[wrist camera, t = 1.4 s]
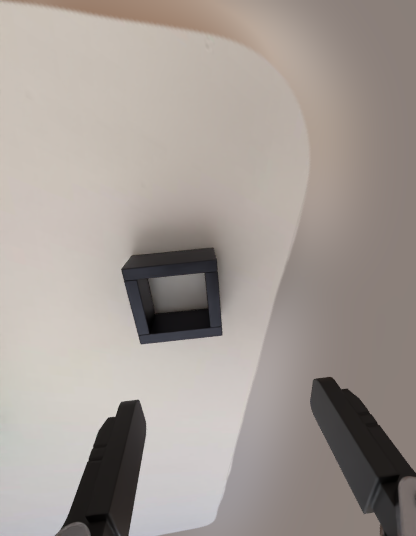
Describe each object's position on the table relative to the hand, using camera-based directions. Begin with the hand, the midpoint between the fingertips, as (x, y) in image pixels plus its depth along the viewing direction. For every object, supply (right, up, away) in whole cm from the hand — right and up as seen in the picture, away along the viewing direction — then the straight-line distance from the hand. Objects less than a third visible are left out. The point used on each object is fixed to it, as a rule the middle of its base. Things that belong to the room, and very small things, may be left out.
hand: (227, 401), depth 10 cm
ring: (-4, +4, +11) cm, 12 cm away
